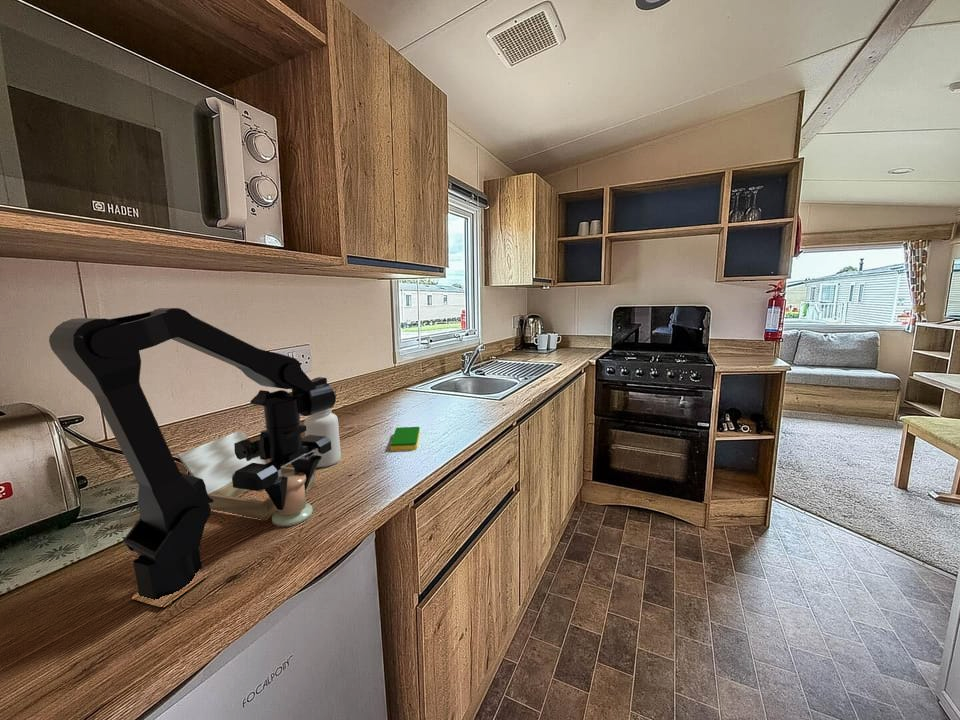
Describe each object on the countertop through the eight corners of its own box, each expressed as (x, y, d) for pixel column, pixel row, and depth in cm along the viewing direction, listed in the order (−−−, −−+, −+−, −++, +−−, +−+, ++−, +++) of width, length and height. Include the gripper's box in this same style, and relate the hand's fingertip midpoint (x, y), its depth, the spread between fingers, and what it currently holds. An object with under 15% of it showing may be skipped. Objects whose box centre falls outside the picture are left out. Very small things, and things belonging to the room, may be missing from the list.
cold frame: (264, 521, 72) (258, 464, 70) (184, 507, 77) (176, 454, 75) (316, 485, 86) (312, 437, 84) (245, 475, 91) (239, 429, 89)
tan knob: (293, 518, 70) (290, 487, 69) (267, 514, 71) (264, 483, 70) (315, 502, 75) (312, 473, 74) (290, 498, 77) (287, 470, 76)
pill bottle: (340, 453, 103) (336, 399, 101) (341, 465, 96) (337, 407, 93) (308, 458, 100) (303, 403, 98) (307, 470, 93) (301, 411, 91)
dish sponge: (390, 452, 104) (389, 444, 104) (396, 434, 118) (396, 427, 118) (416, 451, 105) (416, 442, 105) (420, 433, 119) (419, 426, 118)
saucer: (294, 529, 69) (294, 525, 69) (263, 523, 71) (263, 519, 71) (320, 508, 76) (320, 505, 76) (291, 504, 78) (290, 500, 78)
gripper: (285, 406, 81) (292, 475, 84) (201, 437, 64) (212, 523, 66) (330, 410, 78) (335, 481, 81) (254, 443, 61) (265, 533, 63)
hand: (291, 501), depth 73 cm, fingers closed on tan knob, 5 cm apart
